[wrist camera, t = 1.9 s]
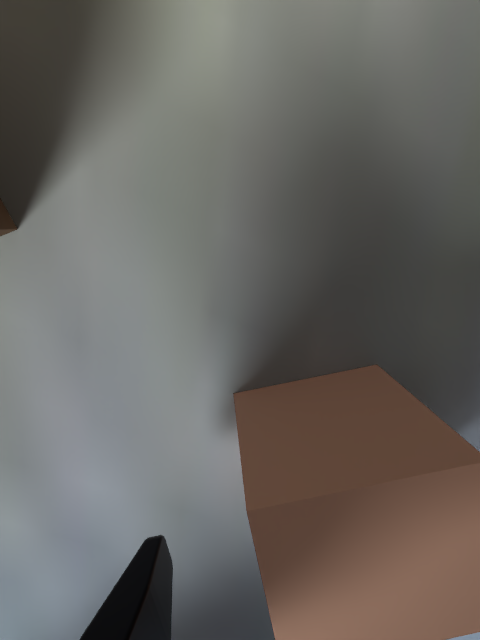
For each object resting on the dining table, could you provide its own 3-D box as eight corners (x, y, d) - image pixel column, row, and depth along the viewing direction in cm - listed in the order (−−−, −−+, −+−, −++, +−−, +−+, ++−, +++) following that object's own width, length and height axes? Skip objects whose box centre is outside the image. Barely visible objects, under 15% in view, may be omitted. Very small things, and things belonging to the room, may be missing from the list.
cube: (384, 480, 12) (484, 630, 7) (257, 507, 12) (283, 674, 7) (375, 363, 10) (489, 460, 6) (233, 392, 10) (246, 510, 6)
